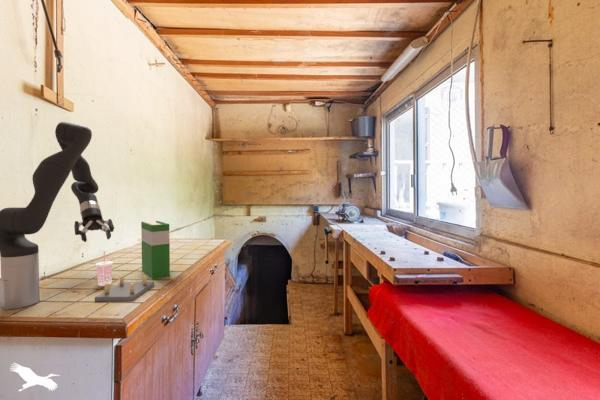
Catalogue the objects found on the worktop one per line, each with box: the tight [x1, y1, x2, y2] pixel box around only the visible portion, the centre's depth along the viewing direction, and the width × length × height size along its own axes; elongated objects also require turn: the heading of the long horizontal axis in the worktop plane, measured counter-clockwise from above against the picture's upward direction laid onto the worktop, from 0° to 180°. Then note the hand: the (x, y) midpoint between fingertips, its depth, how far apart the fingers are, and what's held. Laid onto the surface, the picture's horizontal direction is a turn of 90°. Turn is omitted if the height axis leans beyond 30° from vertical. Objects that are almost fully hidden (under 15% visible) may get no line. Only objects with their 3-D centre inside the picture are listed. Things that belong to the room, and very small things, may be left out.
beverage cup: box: [95, 250, 114, 287], centre depth 116 cm, size 6×6×14 cm
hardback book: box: [140, 220, 171, 280], centre depth 131 cm, size 18×7×24 cm, turn 43°
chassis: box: [94, 275, 155, 302], centre depth 106 cm, size 16×13×5 cm
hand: (97, 239), depth 123 cm, fingers open, 8 cm apart
